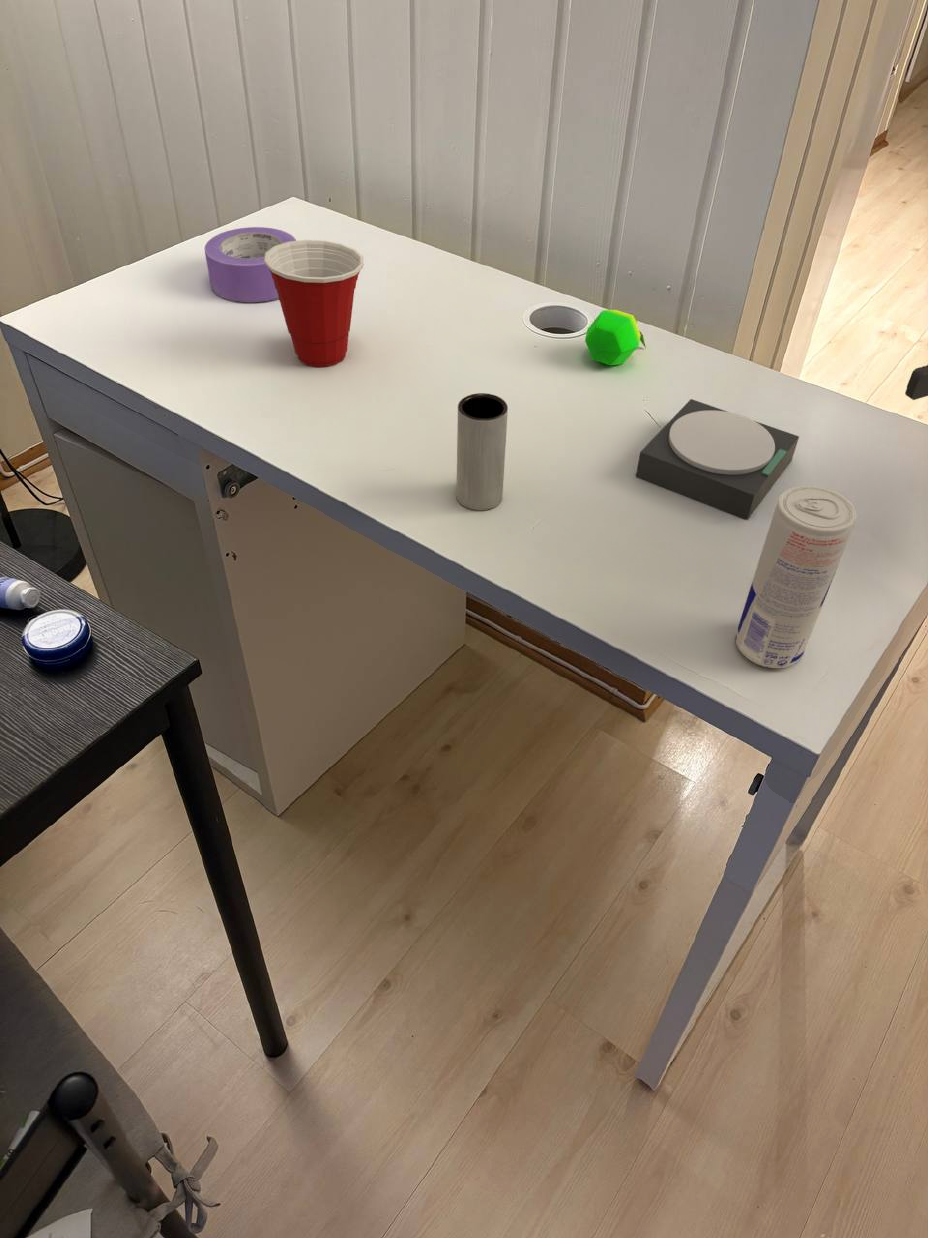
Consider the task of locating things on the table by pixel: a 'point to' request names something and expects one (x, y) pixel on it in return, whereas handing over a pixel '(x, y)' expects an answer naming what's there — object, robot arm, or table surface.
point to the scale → (717, 458)
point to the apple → (613, 337)
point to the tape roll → (243, 263)
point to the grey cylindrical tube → (481, 450)
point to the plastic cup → (316, 296)
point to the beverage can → (794, 574)
